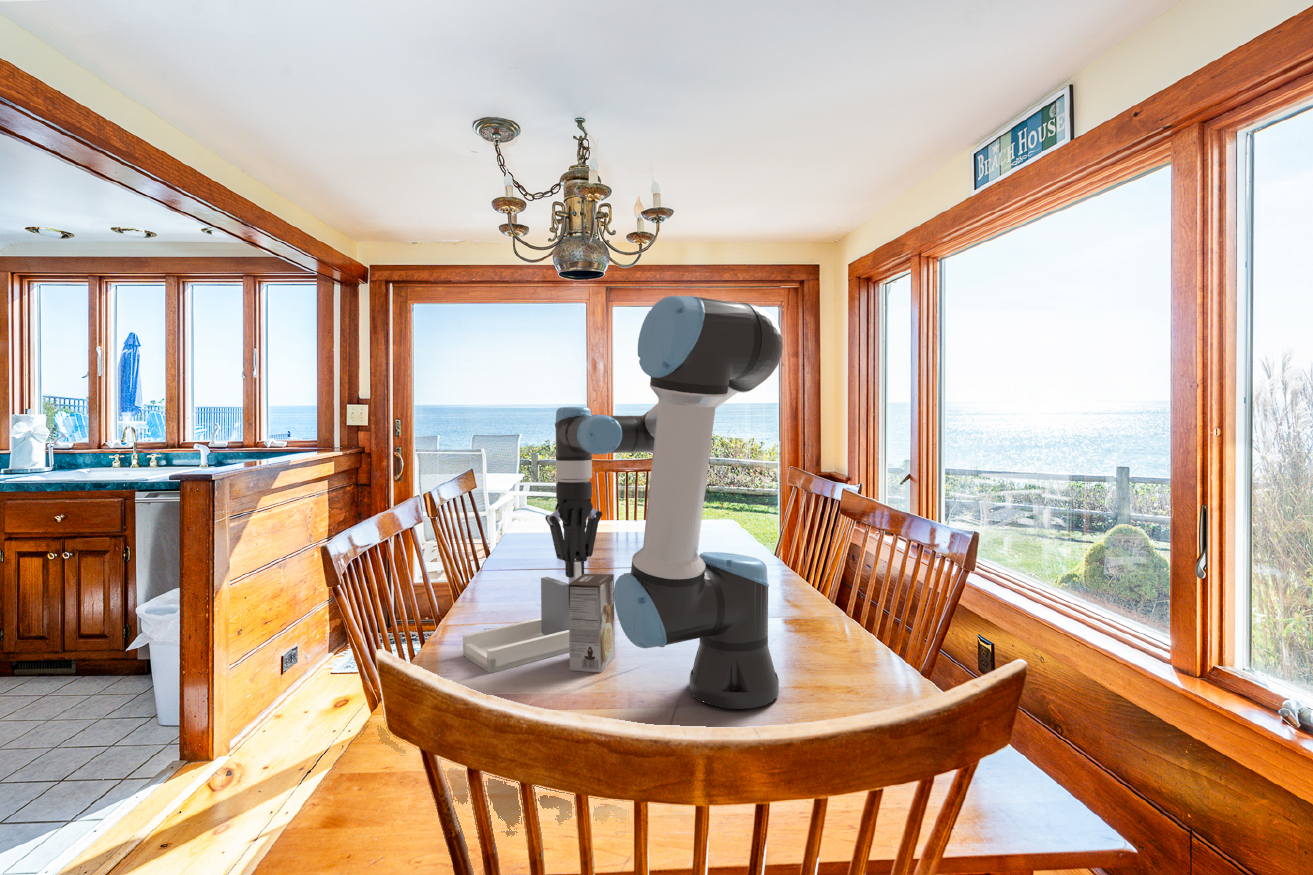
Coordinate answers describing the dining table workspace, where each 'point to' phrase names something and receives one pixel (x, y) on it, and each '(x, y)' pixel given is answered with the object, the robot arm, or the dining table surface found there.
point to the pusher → (554, 606)
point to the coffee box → (591, 622)
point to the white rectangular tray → (513, 645)
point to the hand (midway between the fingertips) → (575, 591)
